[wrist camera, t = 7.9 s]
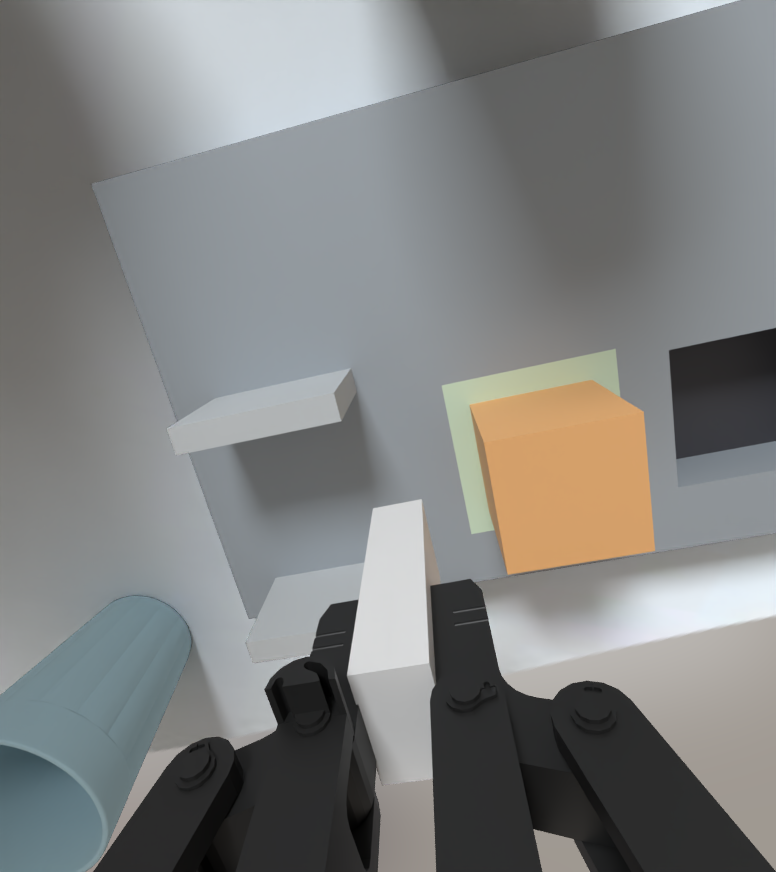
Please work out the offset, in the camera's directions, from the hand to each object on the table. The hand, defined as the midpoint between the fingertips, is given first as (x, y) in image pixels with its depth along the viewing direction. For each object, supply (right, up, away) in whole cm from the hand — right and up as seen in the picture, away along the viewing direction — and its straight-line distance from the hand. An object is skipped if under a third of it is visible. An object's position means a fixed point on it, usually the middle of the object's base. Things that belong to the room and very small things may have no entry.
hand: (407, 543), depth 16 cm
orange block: (+6, +3, +6) cm, 9 cm away
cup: (-15, -8, +14) cm, 22 cm away
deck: (+4, +7, +8) cm, 12 cm away
